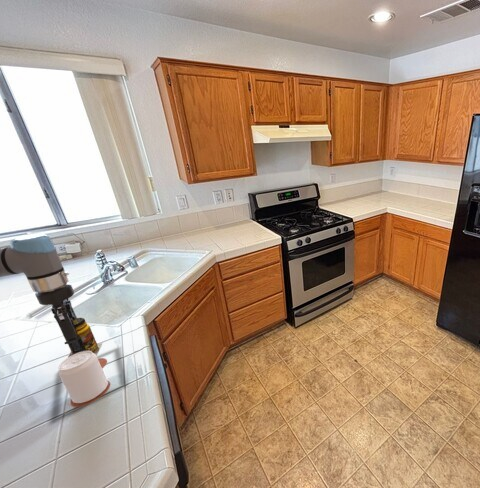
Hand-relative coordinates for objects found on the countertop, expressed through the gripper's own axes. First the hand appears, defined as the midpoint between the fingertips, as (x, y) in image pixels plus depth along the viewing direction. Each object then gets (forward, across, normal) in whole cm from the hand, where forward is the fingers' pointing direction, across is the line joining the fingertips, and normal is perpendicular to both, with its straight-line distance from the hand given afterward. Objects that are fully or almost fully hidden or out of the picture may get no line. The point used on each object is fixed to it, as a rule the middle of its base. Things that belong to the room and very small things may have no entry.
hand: (82, 351), depth 83 cm
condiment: (+2, 0, 0) cm, 2 cm away
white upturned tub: (+7, -13, 0) cm, 15 cm away
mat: (+8, -6, 0) cm, 10 cm away
